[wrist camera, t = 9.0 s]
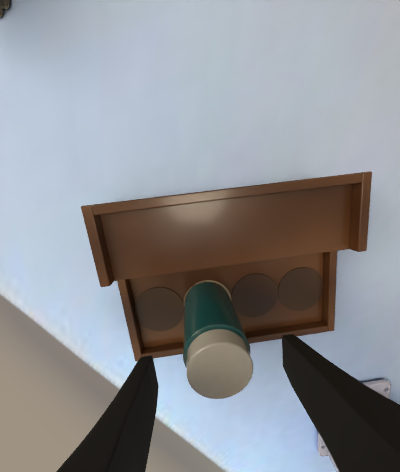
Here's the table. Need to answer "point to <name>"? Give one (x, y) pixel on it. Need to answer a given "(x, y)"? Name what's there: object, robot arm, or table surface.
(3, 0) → the eagle figurine
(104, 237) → the spice shelf
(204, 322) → the cylinder
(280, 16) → the table surface
